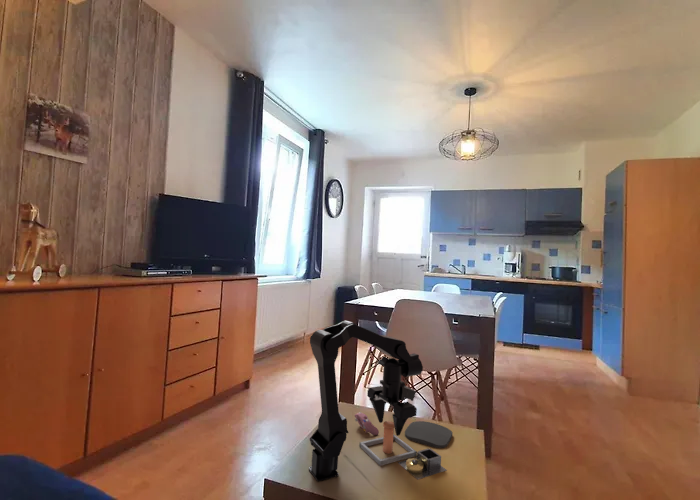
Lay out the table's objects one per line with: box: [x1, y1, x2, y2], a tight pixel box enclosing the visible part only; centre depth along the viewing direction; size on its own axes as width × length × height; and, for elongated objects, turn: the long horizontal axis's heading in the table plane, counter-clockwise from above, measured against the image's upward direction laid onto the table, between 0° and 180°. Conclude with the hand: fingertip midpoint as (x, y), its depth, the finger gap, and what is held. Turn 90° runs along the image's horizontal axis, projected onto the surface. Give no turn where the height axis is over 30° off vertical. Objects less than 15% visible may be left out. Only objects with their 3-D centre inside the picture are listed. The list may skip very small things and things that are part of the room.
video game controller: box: [354, 411, 380, 436], centre depth 128 cm, size 10×5×7 cm, turn 24°
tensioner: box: [397, 448, 448, 480], centre depth 106 cm, size 11×9×4 cm
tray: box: [358, 434, 418, 466], centre depth 113 cm, size 14×12×2 cm
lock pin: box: [382, 420, 395, 455], centre depth 114 cm, size 4×4×9 cm
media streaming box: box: [404, 420, 453, 449], centre depth 126 cm, size 15×15×3 cm
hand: (389, 428), depth 114 cm, fingers open, 9 cm apart
